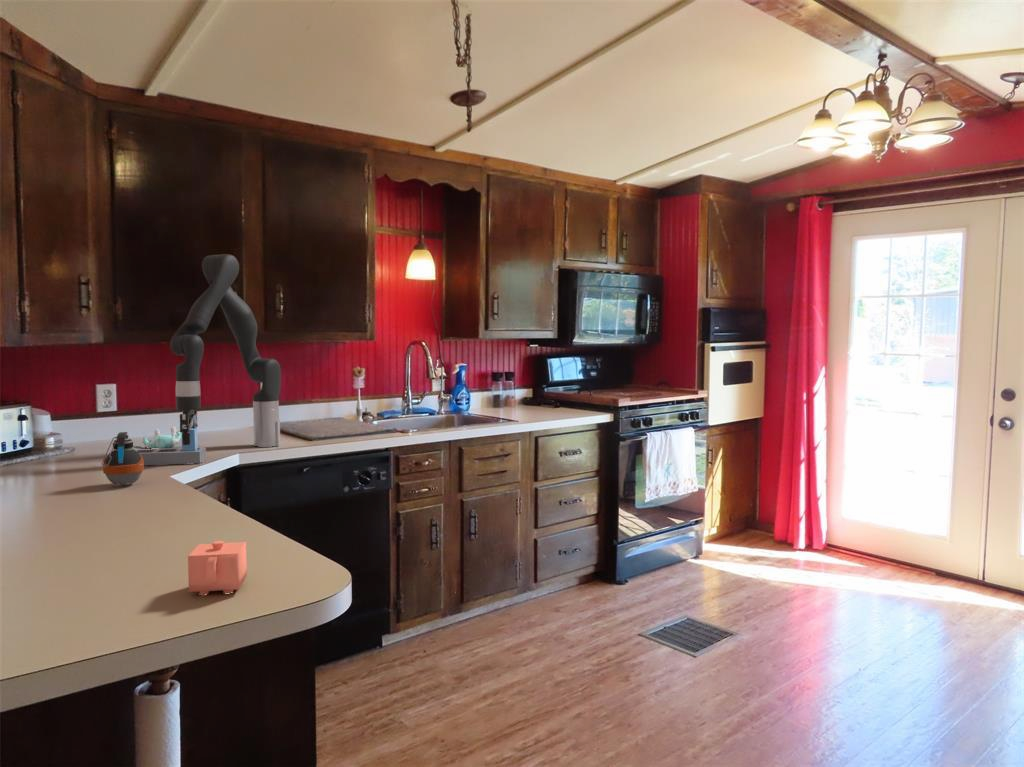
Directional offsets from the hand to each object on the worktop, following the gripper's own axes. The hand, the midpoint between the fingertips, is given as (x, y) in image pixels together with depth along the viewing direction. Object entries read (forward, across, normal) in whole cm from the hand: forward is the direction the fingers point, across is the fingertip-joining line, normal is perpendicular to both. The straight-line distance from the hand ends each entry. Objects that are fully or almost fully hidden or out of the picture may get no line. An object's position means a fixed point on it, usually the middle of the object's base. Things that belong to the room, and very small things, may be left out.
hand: (189, 443), depth 237 cm
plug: (+6, 0, 0) cm, 6 cm away
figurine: (+7, +38, +18) cm, 43 cm away
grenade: (+7, -36, +10) cm, 38 cm away
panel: (+6, 0, +7) cm, 9 cm away
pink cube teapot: (+7, -127, -31) cm, 131 cm away
